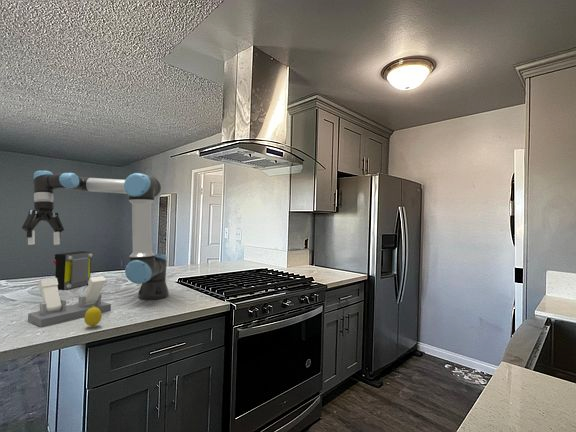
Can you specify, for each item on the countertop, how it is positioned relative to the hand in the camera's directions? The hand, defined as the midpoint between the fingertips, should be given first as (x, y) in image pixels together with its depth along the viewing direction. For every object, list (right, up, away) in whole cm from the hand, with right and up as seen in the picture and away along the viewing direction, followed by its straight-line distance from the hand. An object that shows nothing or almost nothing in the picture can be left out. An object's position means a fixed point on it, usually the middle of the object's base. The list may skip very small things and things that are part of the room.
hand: (44, 244), depth 146 cm
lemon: (+44, -29, -31) cm, 61 cm away
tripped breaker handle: (+24, -24, -25) cm, 42 cm away
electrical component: (-9, -28, +32) cm, 43 cm away
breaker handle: (+30, -25, -12) cm, 41 cm away
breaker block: (+27, -29, -18) cm, 43 cm away
